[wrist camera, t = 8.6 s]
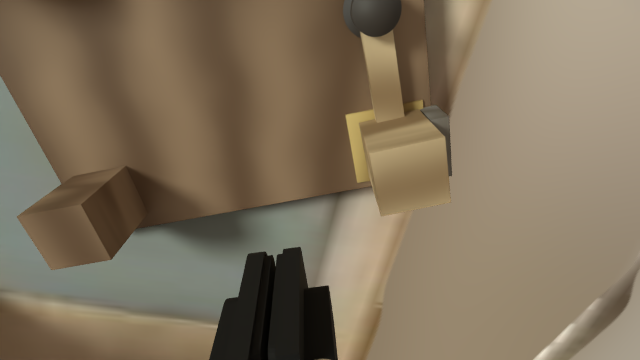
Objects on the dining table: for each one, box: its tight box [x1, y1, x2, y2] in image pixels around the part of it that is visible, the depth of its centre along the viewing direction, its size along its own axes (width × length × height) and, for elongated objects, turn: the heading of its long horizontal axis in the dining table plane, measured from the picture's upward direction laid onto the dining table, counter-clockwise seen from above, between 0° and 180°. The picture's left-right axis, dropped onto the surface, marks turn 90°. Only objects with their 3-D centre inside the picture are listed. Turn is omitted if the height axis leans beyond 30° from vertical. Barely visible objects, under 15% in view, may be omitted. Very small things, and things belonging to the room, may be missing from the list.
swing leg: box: [350, 0, 451, 216], centre depth 19 cm, size 11×4×5 cm, turn 13°
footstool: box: [0, 0, 452, 270], centre depth 19 cm, size 24×21×7 cm
